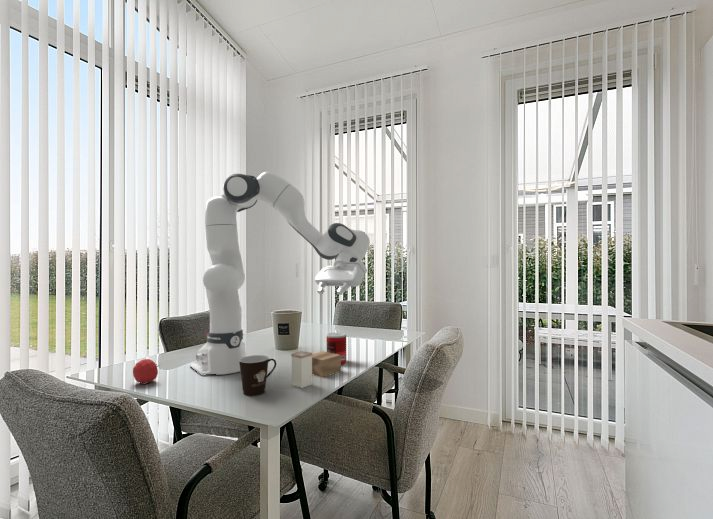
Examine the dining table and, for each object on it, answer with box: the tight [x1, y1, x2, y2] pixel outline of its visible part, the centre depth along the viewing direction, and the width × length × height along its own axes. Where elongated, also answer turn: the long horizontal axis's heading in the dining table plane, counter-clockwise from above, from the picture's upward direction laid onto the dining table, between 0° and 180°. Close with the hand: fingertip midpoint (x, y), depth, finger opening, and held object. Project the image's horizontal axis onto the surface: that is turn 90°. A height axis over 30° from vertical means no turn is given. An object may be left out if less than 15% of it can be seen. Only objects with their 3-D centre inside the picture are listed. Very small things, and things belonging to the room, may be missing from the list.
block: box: [312, 350, 342, 378], centre depth 128 cm, size 9×9×6 cm
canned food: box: [326, 331, 347, 365], centre depth 140 cm, size 8×8×11 cm
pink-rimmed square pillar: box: [290, 350, 313, 389], centre depth 114 cm, size 5×5×10 cm
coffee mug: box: [239, 354, 277, 397], centre depth 109 cm, size 12×9×10 cm
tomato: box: [132, 358, 160, 384], centre depth 118 cm, size 8×8×8 cm
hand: (329, 293), depth 128 cm, fingers open, 8 cm apart
